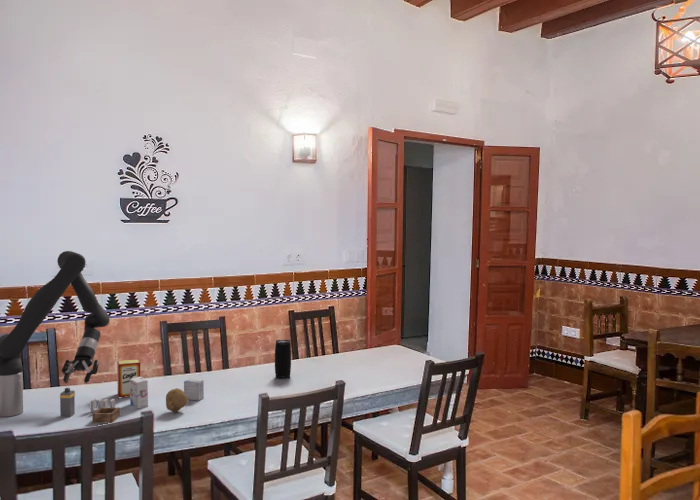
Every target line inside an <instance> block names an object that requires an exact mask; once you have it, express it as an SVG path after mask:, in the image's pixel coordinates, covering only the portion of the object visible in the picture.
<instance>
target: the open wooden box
mask: <svg viewBox="0 0 700 500" xmlns="http://www.w3.org/2000/svg"><path fill="white" fill-rule="evenodd" d="M119 417H121V407H115V408H110V407H108V408H100V409H98V410H97V411H96V412H94V413H92V424H93V423H94V424H99V423H100V424H107V423H108V424H109V423H110V424H111V423H112V422H113V423H114V422H116V421H117V420H118V419H119ZM113 423H112V424H113Z"/></svg>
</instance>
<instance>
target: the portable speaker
mask: <svg viewBox="0 0 700 500" xmlns="http://www.w3.org/2000/svg"><path fill="white" fill-rule="evenodd" d="M291 371H292V347H291V340H290V339H276V340H275V346H274V374H275V378H276V379H280V378H284V379H290V378H291Z"/></svg>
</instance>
